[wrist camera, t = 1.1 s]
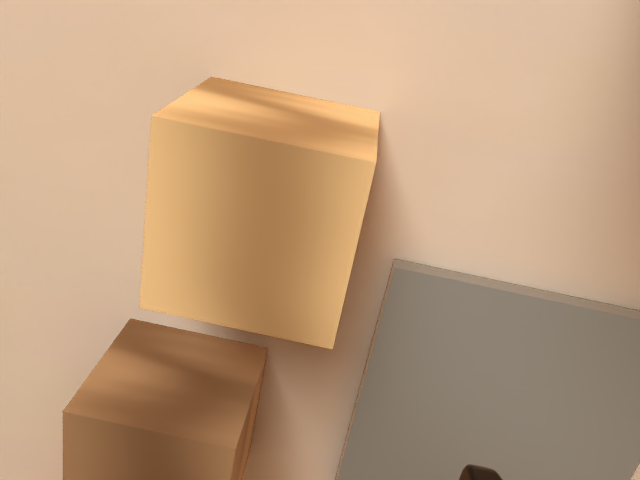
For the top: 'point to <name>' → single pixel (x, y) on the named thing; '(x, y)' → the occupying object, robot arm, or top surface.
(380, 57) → the top surface
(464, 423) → the slate coaster
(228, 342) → the walnut cube
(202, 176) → the oak cube
